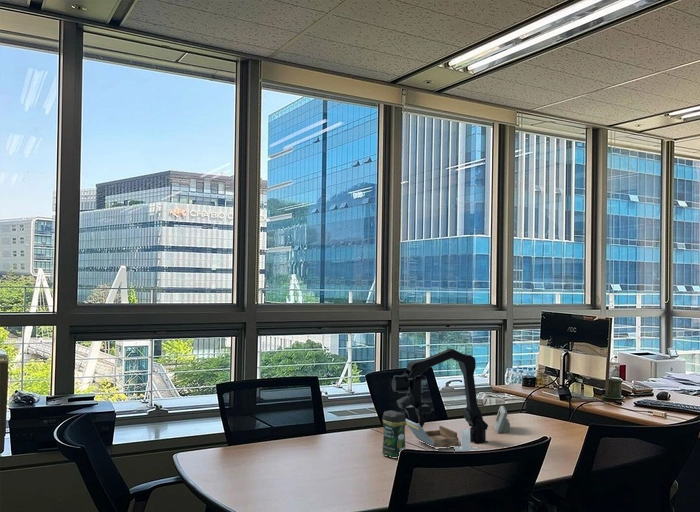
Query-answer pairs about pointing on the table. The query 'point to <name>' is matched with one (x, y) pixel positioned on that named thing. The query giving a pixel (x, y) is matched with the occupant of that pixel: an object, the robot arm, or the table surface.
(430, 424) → the table surface
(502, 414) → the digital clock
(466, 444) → the cable organizer
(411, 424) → the panel
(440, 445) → the tray
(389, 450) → the coffee jar
